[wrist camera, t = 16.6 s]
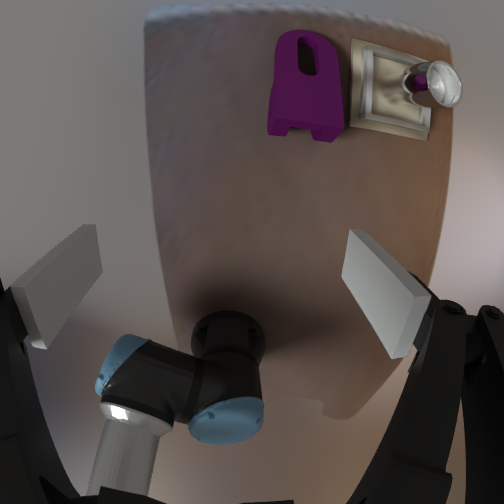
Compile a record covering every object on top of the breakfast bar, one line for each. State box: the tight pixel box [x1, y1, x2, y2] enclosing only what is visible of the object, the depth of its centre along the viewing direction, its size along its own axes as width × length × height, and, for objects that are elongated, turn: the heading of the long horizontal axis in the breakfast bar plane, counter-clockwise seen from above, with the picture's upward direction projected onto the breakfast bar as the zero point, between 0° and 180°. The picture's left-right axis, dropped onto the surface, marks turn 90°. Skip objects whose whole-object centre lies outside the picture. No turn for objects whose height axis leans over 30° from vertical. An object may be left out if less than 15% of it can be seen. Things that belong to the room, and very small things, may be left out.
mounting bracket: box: [267, 30, 344, 143], centre depth 40 cm, size 9×8×18 cm
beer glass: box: [379, 61, 463, 109], centre depth 34 cm, size 7×7×15 cm
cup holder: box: [348, 38, 431, 141], centre depth 40 cm, size 16×16×4 cm
